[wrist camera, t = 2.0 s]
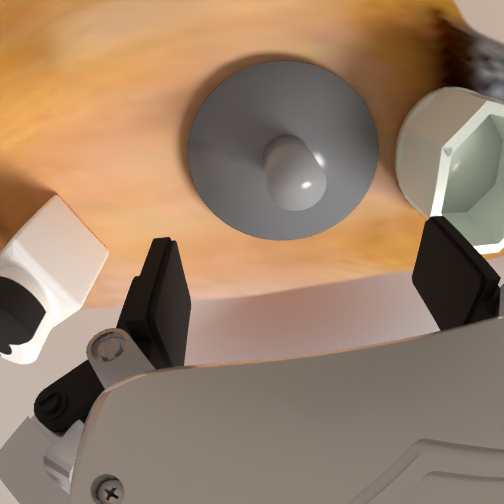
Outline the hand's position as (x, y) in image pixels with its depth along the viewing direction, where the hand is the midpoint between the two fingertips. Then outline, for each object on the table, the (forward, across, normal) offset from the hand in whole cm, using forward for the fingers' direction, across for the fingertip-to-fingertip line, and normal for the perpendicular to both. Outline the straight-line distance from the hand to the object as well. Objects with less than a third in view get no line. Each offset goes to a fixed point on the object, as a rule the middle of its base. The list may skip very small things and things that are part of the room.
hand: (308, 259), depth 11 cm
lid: (+13, -1, 0) cm, 13 cm away
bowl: (+12, -15, 0) cm, 19 cm away
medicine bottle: (+13, +19, +6) cm, 24 cm away
